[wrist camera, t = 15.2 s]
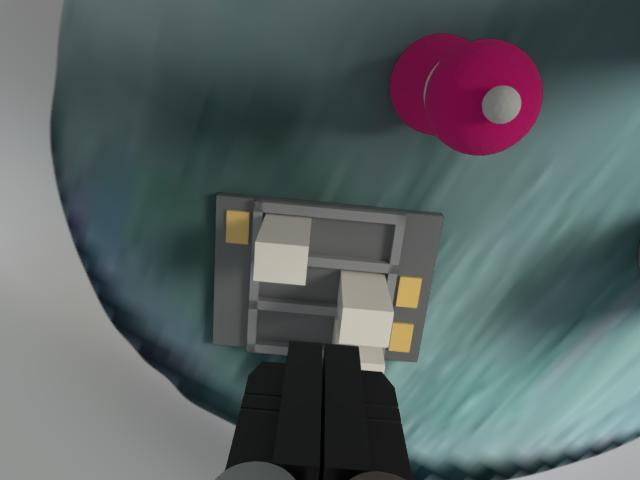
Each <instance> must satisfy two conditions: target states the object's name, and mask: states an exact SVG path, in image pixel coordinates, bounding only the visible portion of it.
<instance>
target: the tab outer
mask: <svg viewBox="0 0 640 480" xmlns="http://www.w3.org/2000/svg"><path fill="white" fill-rule="evenodd" d="M332 344H340V343H339V335H338V317H336V316H335V321H334V330H333V338H332ZM340 345H351V346H358V347H359V353H360V363H361V370H368V371H379V372H382V373H383V374H384V370H385V361H384V355H383V349H382V347H374V346H363V345H352V344H340Z"/></svg>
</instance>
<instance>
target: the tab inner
mask: <svg viewBox="0 0 640 480" xmlns="http://www.w3.org/2000/svg"><path fill="white" fill-rule="evenodd" d="M311 220H312V217H308V216H297V215H286V214H276V213H266V215H265V218H264V220H263V223H262V225H261V228H260V231H259V233H258V236H257V238H256V241H255V255H254V274H253V281H261V282H272V283H283V284H294V285H305V283H306V273H307V263H308V253H309V242H310V231H311Z"/></svg>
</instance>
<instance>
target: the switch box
mask: <svg viewBox="0 0 640 480" xmlns="http://www.w3.org/2000/svg"><path fill="white" fill-rule="evenodd" d="M266 213H276V214H286V215H297V216H308V217H312V220H311V231H310V242H309V253H308V263H307V273H306V283H305V285H294V284H283V283H272V282H261V281H253V274H254V255H255V241H256V238H257V236H258V233H259V231H260V228H261V225H262V223H263V220H264V218H265V215H266ZM443 218H444V216H443V215H442V213H434V212H423V211H413V210H402V209H391V208H380V207H370V206H359V205H348V204H338V203H327V202H316V201H305V200H295V199H284V198H273V197H263V196H252V195H241V194H231V193H220V192H219V193H218V194H217V195H216V232H215V273H214V315H213V344H216V345H227V346H238V347H247V351H246V352H254V353H266V354H277V355H287V353H288V346H289V340H293V341H304V342H316V343H322V359H323V355H324V347H325V343H328V344H332V338H333V330H334V321H335V316H336V317H338V306H337V299H338V291H339V282H340V273H341V270H352V271H363V272H374V273H384V274H385V278H386V282H387V286H388V290H389V294H390V298H391V302H392V306H393V310H394V317H393V323H392V329H391V335H390V342H389V348H385V347H382V349H383V355H384V359H385V360H397V361H408V362H417V360H418V354H419V349H420V344H421V338H422V333H423V327H424V322H425V316H426V311H427V305H428V300H429V294H430V289H431V284H432V278H433V273H434V267H435V262H436V256H437V251H438V245H439V240H440V234H441V229H442V223H443Z"/></svg>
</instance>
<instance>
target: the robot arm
mask: <svg viewBox="0 0 640 480" xmlns="http://www.w3.org/2000/svg"><path fill="white" fill-rule="evenodd" d="M216 480H413V479H412V474H411V469H410V464H409V459H408V454H407V449H406V444H405V439H404V433H403V428H402V424H401V418H400V413H399V409H398V403H397V398H396V393H395V388H394V386H393V385H392V384H391V383H390V381H389V380H388V379H387V378H386V376H385V375H384V374H383V373H382V372H379V371H368V370H361V363H360V353H359V347H358V346H351V345H340V344H328V343H325V347H324V355H323V364H322V343H316V342H304V341H293V340H289V346H288V353H287V360H286V364H285V363H274V362H261V363H260V364H259V365H258V366H257V367H256V368H255V369H254V370H253V372H252V373H251V374H250V375H249V376H248V380H247V385H246V389H245V393H244V397H243V401H242V405H241V411H240V413H239V417H238V421H237V425H236V429H235V434H234V437H233V441H232V445H231V449H230V453H229V457H228V461H227V465H226V469H225V471H224V472H223V473H221V474H220V475H219V476H218V477H217V478H216Z"/></svg>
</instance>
